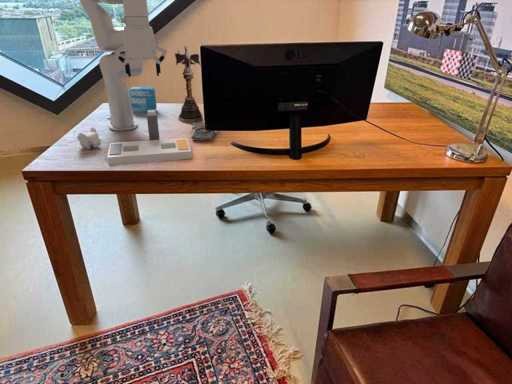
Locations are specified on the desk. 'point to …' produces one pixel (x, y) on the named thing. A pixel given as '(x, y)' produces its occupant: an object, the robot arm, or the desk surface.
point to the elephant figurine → (89, 139)
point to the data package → (142, 99)
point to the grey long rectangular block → (153, 125)
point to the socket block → (148, 151)
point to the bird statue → (188, 88)
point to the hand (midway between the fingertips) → (143, 75)
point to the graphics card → (202, 132)
